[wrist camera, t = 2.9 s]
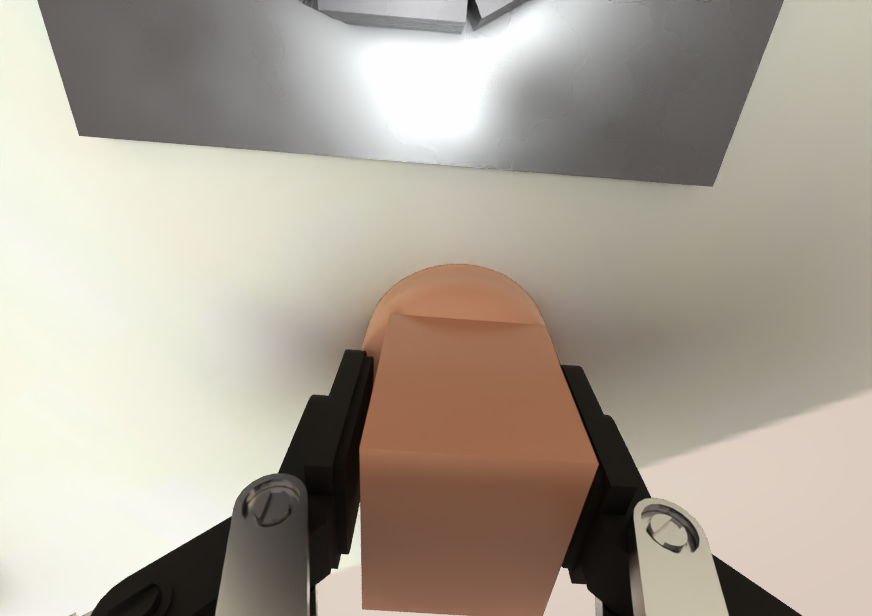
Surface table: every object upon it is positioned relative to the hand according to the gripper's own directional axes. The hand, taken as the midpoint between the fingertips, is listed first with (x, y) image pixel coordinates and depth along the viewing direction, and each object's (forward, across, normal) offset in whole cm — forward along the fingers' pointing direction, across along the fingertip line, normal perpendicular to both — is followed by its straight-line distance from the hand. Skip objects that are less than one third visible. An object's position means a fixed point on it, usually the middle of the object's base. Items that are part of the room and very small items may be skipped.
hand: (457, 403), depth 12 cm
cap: (+3, 0, 0) cm, 3 cm away
